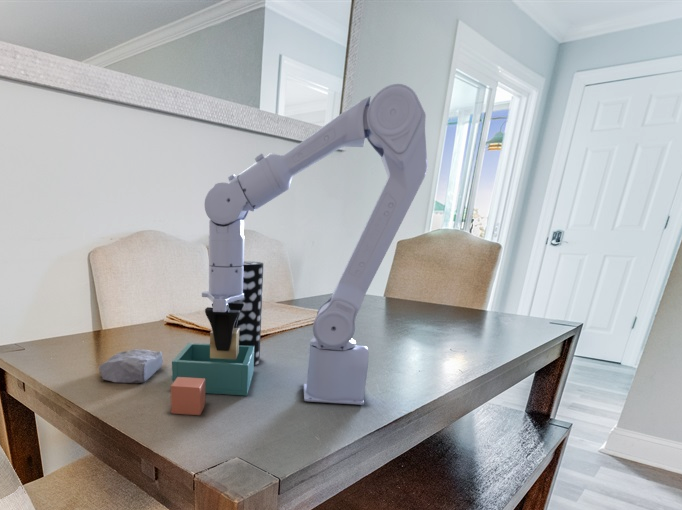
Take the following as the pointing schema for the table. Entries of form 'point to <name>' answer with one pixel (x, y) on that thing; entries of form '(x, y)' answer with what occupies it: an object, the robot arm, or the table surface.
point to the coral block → (188, 396)
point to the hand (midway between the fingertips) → (225, 346)
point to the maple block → (225, 354)
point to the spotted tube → (251, 307)
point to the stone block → (131, 366)
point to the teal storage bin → (216, 369)
